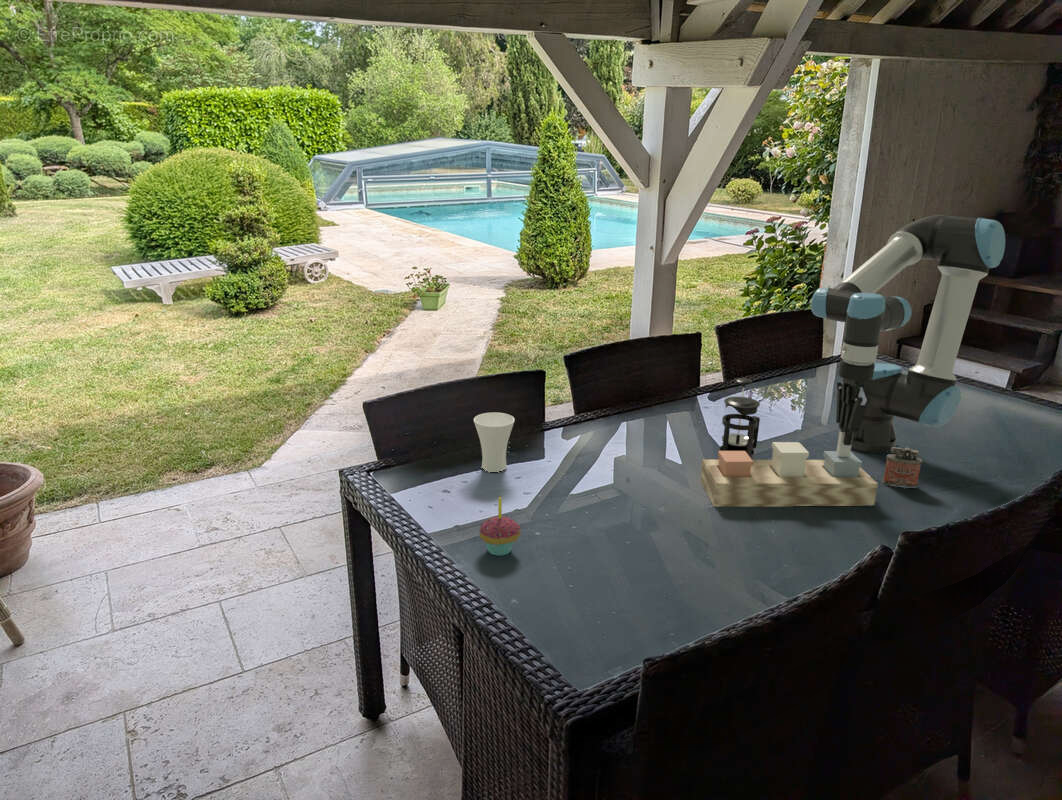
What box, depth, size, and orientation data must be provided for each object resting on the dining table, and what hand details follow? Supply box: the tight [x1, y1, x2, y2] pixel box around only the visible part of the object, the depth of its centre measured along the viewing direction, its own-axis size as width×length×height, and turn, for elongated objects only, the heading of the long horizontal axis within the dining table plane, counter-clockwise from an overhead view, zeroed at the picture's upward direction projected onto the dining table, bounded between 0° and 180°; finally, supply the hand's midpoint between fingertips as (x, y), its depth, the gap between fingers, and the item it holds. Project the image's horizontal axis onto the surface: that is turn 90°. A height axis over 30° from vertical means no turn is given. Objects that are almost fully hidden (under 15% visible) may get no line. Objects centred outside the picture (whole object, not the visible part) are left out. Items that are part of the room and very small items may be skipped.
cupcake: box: [479, 493, 522, 557], centre depth 158 cm, size 9×8×12 cm
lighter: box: [881, 446, 923, 487], centre depth 192 cm, size 8×3×10 cm, turn 71°
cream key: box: [771, 441, 810, 477], centre depth 185 cm, size 7×7×6 cm
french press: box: [717, 377, 761, 460], centre depth 203 cm, size 12×9×23 cm
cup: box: [473, 411, 516, 473], centre depth 197 cm, size 10×10×14 cm
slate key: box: [822, 450, 863, 477], centre depth 186 cm, size 7×7×6 cm
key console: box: [699, 459, 879, 508], centre depth 187 cm, size 38×14×6 cm, turn 92°
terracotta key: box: [717, 450, 753, 477], centre depth 185 cm, size 7×7×6 cm
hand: (842, 455), depth 185 cm, fingers closed
